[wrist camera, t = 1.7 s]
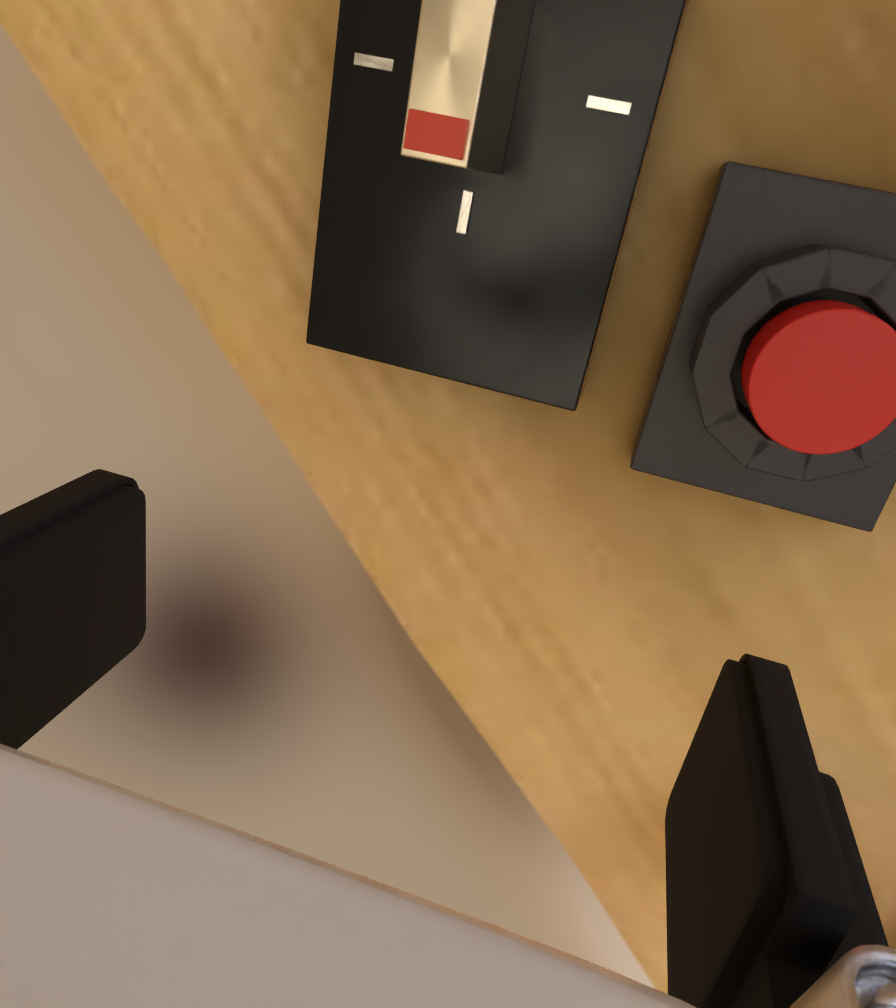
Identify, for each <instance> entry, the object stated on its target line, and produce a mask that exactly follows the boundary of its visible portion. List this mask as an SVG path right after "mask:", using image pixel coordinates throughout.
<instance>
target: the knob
mask: <svg viewBox="0 0 896 1008" xmlns="http://www.w3.org/2000/svg"><path fill="white" fill-rule="evenodd" d="M534 2H535V0H422V4H421V11H420V18H419V25H418V32H417V39H416V46H415V53H414V61H413V68H412V75H411V82H410V89H409V96H408V103H407V111H406V118H405V125H404V132H403V139H402V146H401V155H402V156H405V157H410V158H415V159H420V160H424V161H429V162H434V163H439V164H444V165H449V166H454V167H459V168H464V169H469V170H475V171H481V172H487V173H493V174H501V171H502V166H503V160H504V155H505V150H506V145H507V140H508V135H509V130H510V125H511V120H512V114H513V109H514V104H515V99H516V94H517V89H518V84H519V79H520V73H521V68H522V63H523V58H524V53H525V48H526V43H527V38H528V33H529V27H530V22H531V17H532V12H533V7H534Z"/></svg>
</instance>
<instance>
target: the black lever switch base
mask: <svg viewBox="0 0 896 1008" xmlns="http://www.w3.org/2000/svg"><path fill="white" fill-rule="evenodd" d="M688 1H689V0H535V2H534V7H533V12H532V17H531V22H530V27H529V33H528V38H527V43H526V48H525V53H524V58H523V63H522V68H521V73H520V79H519V84H518V89H517V94H516V99H515V104H514V109H513V114H512V120H511V125H510V130H509V135H508V140H507V145H506V150H505V155H504V160H503V166H502V171H501V174H493V173H487V172H481V171H475V170H469V169H464V168H459V167H454V166H449V165H444V164H439V163H434V162H429V161H424V160H420V159H415V158H410V157H405V156H402V155H401V146H402V139H403V132H404V125H405V118H406V111H407V103H408V96H409V89H410V82H411V75H412V68H413V61H414V53H415V46H416V39H417V32H418V25H419V18H420V11H421V4H422V0H340V10H339V20H338V30H337V40H336V50H335V60H334V70H333V80H332V90H331V100H330V110H329V120H328V130H327V139H326V149H325V159H324V169H323V179H322V189H321V199H320V209H319V219H318V229H317V239H316V249H315V259H314V269H313V279H312V289H311V299H310V309H309V319H308V329H307V339H306V342H307V343H308V344H311V345H315V346H319V347H323V348H327V349H331V350H335V351H339V352H343V353H347V354H351V355H355V356H359V357H363V358H367V359H370V360H374V361H378V362H382V363H386V364H390V365H394V366H398V367H402V368H406V369H410V370H414V371H418V372H422V373H426V374H430V375H433V376H437V377H441V378H445V379H449V380H453V381H457V382H461V383H465V384H469V385H473V386H477V387H481V388H485V389H489V390H492V391H496V392H500V393H504V394H508V395H512V396H516V397H520V398H524V399H528V400H532V401H536V402H540V403H544V404H548V405H551V406H555V407H559V408H563V409H567V410H571V411H575V410H576V408H577V406H578V403H579V401H580V398H581V396H582V393H583V389H584V385H585V381H586V378H587V374H588V370H589V367H590V363H591V359H592V356H593V352H594V348H595V344H596V341H597V337H598V333H599V330H600V326H601V322H602V319H603V315H604V311H605V308H606V304H607V300H608V296H609V293H610V289H611V285H612V282H613V278H614V274H615V271H616V267H617V263H618V259H619V256H620V252H621V248H622V245H623V241H624V237H625V234H626V230H627V226H628V222H629V219H630V215H631V211H632V208H633V204H634V200H635V197H636V193H637V189H638V186H639V182H640V178H641V174H642V171H643V167H644V163H645V160H646V156H647V152H648V149H649V145H650V141H651V137H652V134H653V130H654V126H655V123H656V119H657V115H658V112H659V108H660V104H661V100H662V97H663V93H664V89H665V86H666V82H667V78H668V75H669V71H670V67H671V64H672V60H673V56H674V52H675V49H676V45H677V41H678V38H679V34H680V30H681V27H682V23H683V19H684V15H685V12H686V8H687V4H688Z"/></svg>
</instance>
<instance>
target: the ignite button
mask: <svg viewBox="0 0 896 1008" xmlns="http://www.w3.org/2000/svg"><path fill="white" fill-rule="evenodd" d="M741 383H742V389H743V392H744V396H745V398H746V401H747V403H748V405H749V407H750V409H751V412H752V414H753V416H754V418H755V420H756V422H757V423H758V425H759V426H760V428H761V429H762V430H763V431H764V432H765V433H766V434H767V435H768V436H769V437H770V438H771V439H772V440H774V441H775V442H777V443H779V444H780V445H782V446H784V447H786V448H788V449H791V450H794V451H797V452H801V453H807V454H818V455H819V454H833V453H839V452H843V451H846V450H850V449H853V448H855V447H858V446H860V445H862V444H864V443H866V442H868V441H870V440H871V439H873V438H874V437H875V436H877V435H878V434H880V433H881V432H882V431H883V430H884V429H885V428H887V426H888V425H889V424H890V423H891V422H892V421H893V420H894V419H895V417H896V331H895V330H894V329H893V328H892V327H891V326H890V325H888V324H887V323H886V322H884V321H883V320H881V319H880V318H878V317H876V316H874V315H872V314H871V313H869V312H867V311H865V310H863V309H861V308H859V307H857V306H854V305H852V304H849V303H846V302H842V301H836V300H815V301H809V302H804V303H801V304H798V305H795V306H792V307H790V308H788V309H786V310H784V311H782V312H780V313H779V314H777V315H776V316H774V317H773V318H772V319H770V320H769V321H768V322H767V323H766V324H765V325H764V326H763V327H762V328H761V329H760V330H759V331H758V332H757V333H756V335H755V336H754V337H753V339H752V341H751V342H750V344H749V346H748V348H747V350H746V353H745V355H744V359H743V362H742V369H741Z"/></svg>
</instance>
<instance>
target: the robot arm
mask: <svg viewBox="0 0 896 1008" xmlns="http://www.w3.org/2000/svg"><path fill="white" fill-rule="evenodd" d="M145 505H146V502H145V495H144V493H143V491H141V490H140V489H139V487H138V485H137V482H136V481H135V480H134V479H133V478H129V477H126V476H123V475H119V474H115V473H112V472H109V471H105V470H101V469H98V470H94V471H92V472H90V473H87V474H85V475H83V476H81V477H79V478H77V479H75V480H73V481H71V482H69V483H67V484H64V485H62V486H60V487H58V488H56V489H54V490H52V491H50V492H48V493H46V494H43V495H41V496H39V497H37V498H35V499H33V500H31V501H29V502H27V503H25V504H22V505H20V506H18V507H16V508H14V509H12V510H10V511H8V512H6V513H4V514H1V515H0V1008H896V949H894V948H890V947H889V946H888V943H887V939H886V936H885V933H884V930H883V927H882V924H881V920H880V917H879V914H878V911H877V908H876V904H875V901H874V898H873V895H872V892H871V889H870V885H869V882H868V879H867V876H866V873H865V869H864V866H863V863H862V860H861V857H860V854H859V850H858V847H857V844H856V841H855V838H854V834H853V831H852V828H851V825H850V822H849V819H848V815H847V812H846V809H845V806H844V803H843V799H842V796H841V793H840V790H839V787H838V785H837V783H836V781H835V779H834V778H832V777H831V776H830V775H828V774H824V773H821V772H819V771H818V767H817V764H816V760H815V757H814V753H813V750H812V746H811V743H810V739H809V736H808V733H807V729H806V726H805V722H804V719H803V715H802V712H801V708H800V705H799V701H798V698H797V694H796V691H795V687H794V684H793V680H792V677H791V673H790V670H789V668H788V666H786V665H784V664H781V663H777V662H774V661H770V660H767V659H763V658H760V657H756V656H753V655H749V654H744V655H743V656H742V657H741V659H740V660H739V662H737V661H734V660H730V659H728V660H727V661H726V662H725V663H724V665H723V667H722V670H721V672H720V675H719V677H718V679H717V682H716V684H715V687H714V689H713V692H712V694H711V697H710V699H709V702H708V704H707V706H706V709H705V711H704V714H703V716H702V719H701V721H700V724H699V726H698V728H697V731H696V733H695V736H694V738H693V741H692V743H691V746H690V748H689V750H688V753H687V755H686V758H685V760H684V763H683V765H682V768H681V770H680V773H679V775H678V777H677V780H676V782H675V785H674V787H673V790H672V792H671V795H670V798H669V801H668V805H667V810H666V817H665V841H666V902H667V963H668V994H665V993H663V992H661V991H658V990H656V989H653V988H651V987H649V986H646V985H644V984H641V983H639V982H637V981H634V980H632V979H630V978H627V977H625V976H623V975H621V974H618V973H616V972H613V971H611V970H608V969H606V968H604V967H601V966H599V965H596V964H593V963H591V962H589V961H586V960H584V959H581V958H579V957H576V956H573V955H571V954H569V953H566V952H563V951H560V950H558V949H555V948H553V947H550V946H547V945H545V944H542V943H539V942H537V941H534V940H531V939H529V938H526V937H523V936H521V935H518V934H516V933H513V932H511V931H508V930H506V929H503V928H501V927H498V926H496V925H493V924H490V923H488V922H485V921H482V920H480V919H477V918H474V917H472V916H469V915H466V914H464V913H461V912H458V911H455V910H453V909H450V908H448V907H445V906H442V905H440V904H437V903H434V902H431V901H429V900H426V899H423V898H421V897H418V896H415V895H412V894H410V893H407V892H404V891H402V890H399V889H397V888H394V887H391V886H388V885H386V884H383V883H380V882H378V881H375V880H372V879H370V878H367V877H364V876H362V875H359V874H356V873H353V872H351V871H348V870H345V869H343V868H340V867H337V866H335V865H332V864H329V863H327V862H324V861H321V860H319V859H316V858H313V857H311V856H308V855H305V854H303V853H300V852H297V851H294V850H292V849H289V848H286V847H283V846H281V845H278V844H275V843H273V842H270V841H267V840H264V839H262V838H259V837H256V836H253V835H251V834H248V833H245V832H243V831H240V830H237V829H234V828H232V827H229V826H226V825H223V824H221V823H218V822H215V821H213V820H210V819H207V818H204V817H202V816H199V815H196V814H193V813H190V812H188V811H185V810H182V809H180V808H177V807H174V806H171V805H169V804H166V803H163V802H161V801H158V800H155V799H152V798H150V797H147V796H144V795H141V794H139V793H136V792H133V791H130V790H128V789H125V788H121V787H119V786H117V785H114V784H111V783H108V782H106V781H103V780H100V779H97V778H95V777H92V776H89V775H86V774H84V773H81V772H78V771H75V770H72V769H69V768H67V767H64V766H61V765H58V764H56V763H53V762H50V761H47V760H44V759H42V758H39V757H36V756H33V755H30V754H28V753H25V752H22V751H19V750H17V749H18V748H19V747H21V746H22V745H23V744H24V743H25V742H26V741H28V740H29V739H30V738H31V737H32V736H33V735H35V734H36V733H37V732H38V731H39V730H40V729H42V728H43V727H44V726H45V725H46V724H48V723H49V722H50V721H51V720H52V719H53V718H54V717H56V716H57V715H58V714H59V713H60V712H61V711H63V710H64V709H65V708H66V707H67V706H68V705H70V704H71V703H72V702H73V701H74V700H75V699H77V698H78V697H79V696H80V695H81V694H82V693H83V692H85V691H86V690H87V689H88V688H89V687H91V686H92V685H93V684H94V683H95V682H96V681H98V680H99V679H100V678H101V677H102V676H104V675H105V673H107V672H108V671H109V670H111V669H112V668H113V667H114V666H115V665H116V664H118V663H119V662H120V661H121V660H122V659H123V658H124V657H125V656H127V655H128V654H129V653H130V652H132V651H133V650H134V649H135V648H136V647H137V646H138V645H139V643H140V641H141V640H142V638H143V636H144V633H145V629H146V522H145V521H146V518H145V517H146V506H145Z"/></svg>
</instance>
